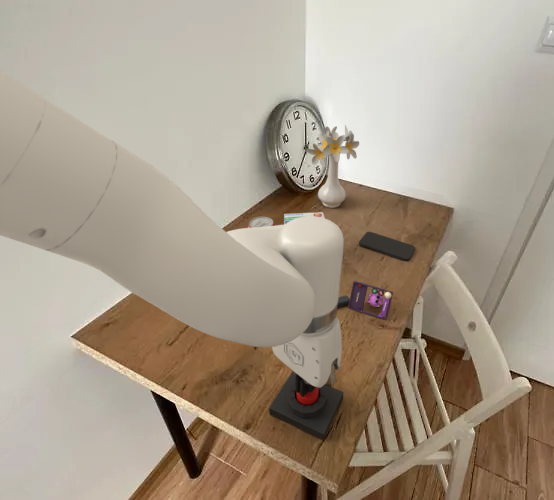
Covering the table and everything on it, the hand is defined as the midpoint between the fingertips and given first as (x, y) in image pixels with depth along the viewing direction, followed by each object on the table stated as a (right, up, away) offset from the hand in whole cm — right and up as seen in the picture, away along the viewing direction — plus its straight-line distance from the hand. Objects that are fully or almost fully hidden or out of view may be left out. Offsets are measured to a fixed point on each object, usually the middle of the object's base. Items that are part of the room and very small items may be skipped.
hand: (305, 388), depth 57 cm
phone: (+19, +23, +44) cm, 53 cm away
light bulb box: (-4, +21, +39) cm, 45 cm away
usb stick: (+3, +9, +24) cm, 26 cm away
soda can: (-14, +19, +35) cm, 42 cm away
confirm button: (0, -2, +2) cm, 2 cm away
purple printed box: (+13, +9, +24) cm, 29 cm away
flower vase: (+3, +37, +62) cm, 72 cm away
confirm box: (0, -5, +4) cm, 6 cm away
